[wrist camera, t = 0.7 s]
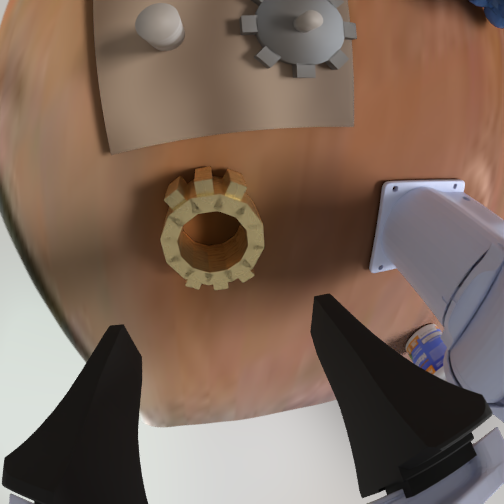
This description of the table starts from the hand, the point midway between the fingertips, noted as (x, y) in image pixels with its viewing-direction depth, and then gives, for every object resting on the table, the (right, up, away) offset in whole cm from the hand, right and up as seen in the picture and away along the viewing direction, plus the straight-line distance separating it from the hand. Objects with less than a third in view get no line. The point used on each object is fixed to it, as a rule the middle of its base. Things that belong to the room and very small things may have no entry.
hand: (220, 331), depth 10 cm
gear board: (0, +15, +1) cm, 15 cm away
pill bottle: (+24, -8, +21) cm, 33 cm away
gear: (-1, +5, +8) cm, 9 cm away
